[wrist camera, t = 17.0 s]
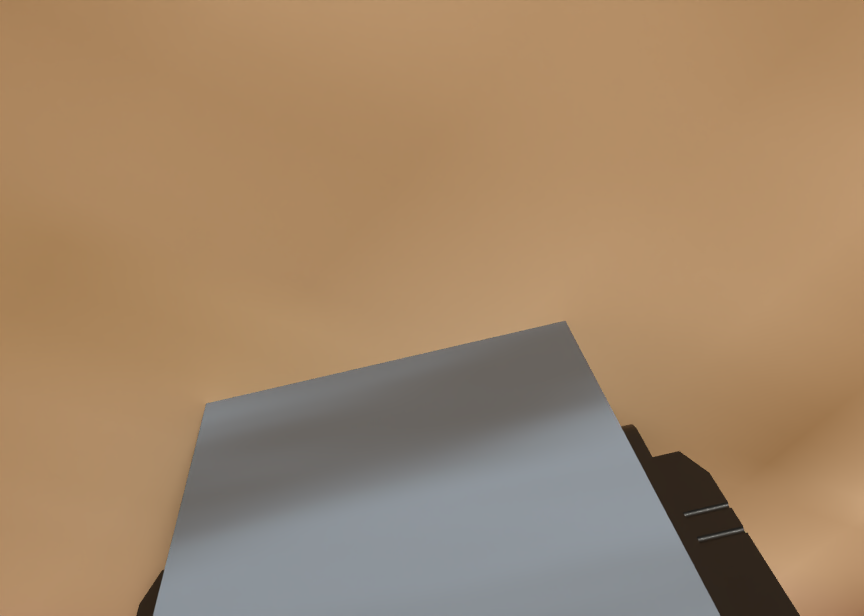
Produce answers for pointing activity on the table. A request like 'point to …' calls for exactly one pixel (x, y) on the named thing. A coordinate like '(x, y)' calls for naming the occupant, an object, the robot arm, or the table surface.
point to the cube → (428, 496)
